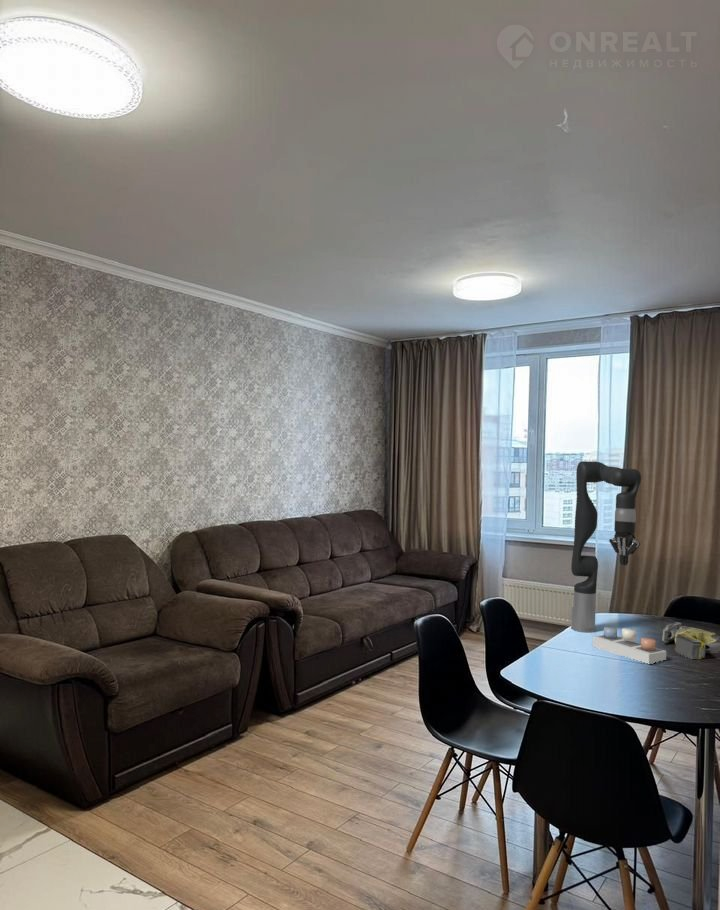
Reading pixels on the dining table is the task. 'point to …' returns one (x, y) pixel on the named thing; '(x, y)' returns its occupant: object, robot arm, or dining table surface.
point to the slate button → (610, 632)
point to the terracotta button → (648, 644)
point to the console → (628, 649)
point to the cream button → (628, 634)
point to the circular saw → (691, 640)
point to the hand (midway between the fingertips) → (623, 564)
